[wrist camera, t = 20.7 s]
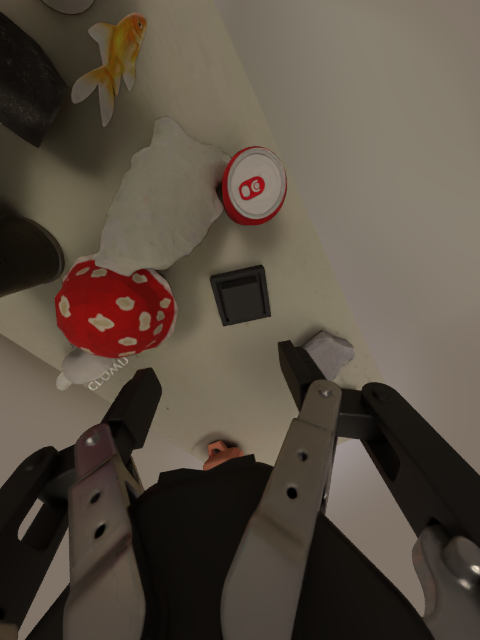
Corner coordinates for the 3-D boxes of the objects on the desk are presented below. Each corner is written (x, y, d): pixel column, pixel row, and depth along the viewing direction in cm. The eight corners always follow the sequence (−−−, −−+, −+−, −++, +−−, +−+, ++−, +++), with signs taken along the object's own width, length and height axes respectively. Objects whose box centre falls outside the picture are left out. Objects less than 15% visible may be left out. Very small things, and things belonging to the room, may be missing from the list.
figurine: (76, 348, 38) (111, 385, 39) (24, 367, 30) (69, 413, 31) (108, 309, 35) (146, 349, 36) (60, 319, 27) (109, 370, 28)
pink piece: (250, 511, 45) (213, 516, 47) (249, 455, 55) (219, 461, 57) (229, 490, 40) (189, 496, 42) (233, 432, 50) (200, 440, 52)
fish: (105, 131, 23) (57, 88, 18) (105, 131, 23) (57, 88, 18) (159, 44, 21) (120, -32, 16) (159, 44, 21) (120, -32, 16)
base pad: (223, 320, 36) (223, 326, 34) (210, 275, 32) (209, 279, 30) (268, 310, 35) (271, 316, 33) (261, 264, 32) (264, 267, 29)
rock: (156, 132, 25) (79, 262, 21) (149, 88, 21) (51, 241, 16) (239, 177, 27) (186, 304, 23) (248, 146, 23) (185, 294, 19)
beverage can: (272, 214, 28) (300, 208, 18) (233, 232, 29) (238, 236, 18) (257, 165, 26) (280, 123, 15) (215, 186, 26) (208, 160, 16)
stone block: (279, 362, 43) (317, 382, 44) (282, 375, 39) (323, 397, 40) (311, 319, 39) (351, 342, 40) (318, 328, 35) (363, 353, 36)
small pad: (229, 314, 34) (229, 321, 31) (221, 284, 31) (221, 289, 29) (260, 307, 34) (263, 314, 31) (255, 276, 31) (258, 281, 29)
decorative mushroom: (192, 325, 36) (171, 386, 22) (113, 324, 34) (42, 388, 21) (185, 245, 29) (152, 263, 16) (90, 241, 28) (-33, 257, 15)
